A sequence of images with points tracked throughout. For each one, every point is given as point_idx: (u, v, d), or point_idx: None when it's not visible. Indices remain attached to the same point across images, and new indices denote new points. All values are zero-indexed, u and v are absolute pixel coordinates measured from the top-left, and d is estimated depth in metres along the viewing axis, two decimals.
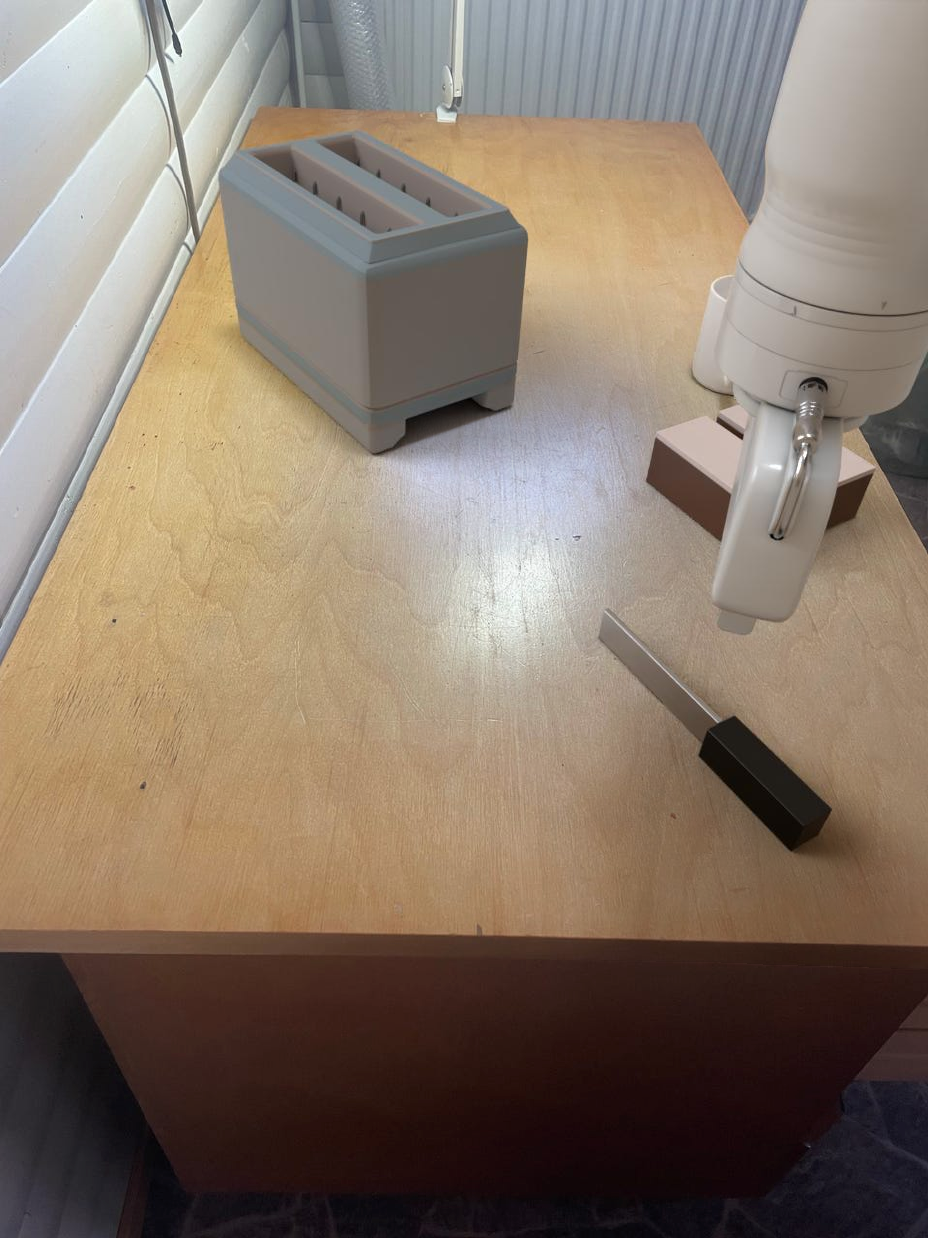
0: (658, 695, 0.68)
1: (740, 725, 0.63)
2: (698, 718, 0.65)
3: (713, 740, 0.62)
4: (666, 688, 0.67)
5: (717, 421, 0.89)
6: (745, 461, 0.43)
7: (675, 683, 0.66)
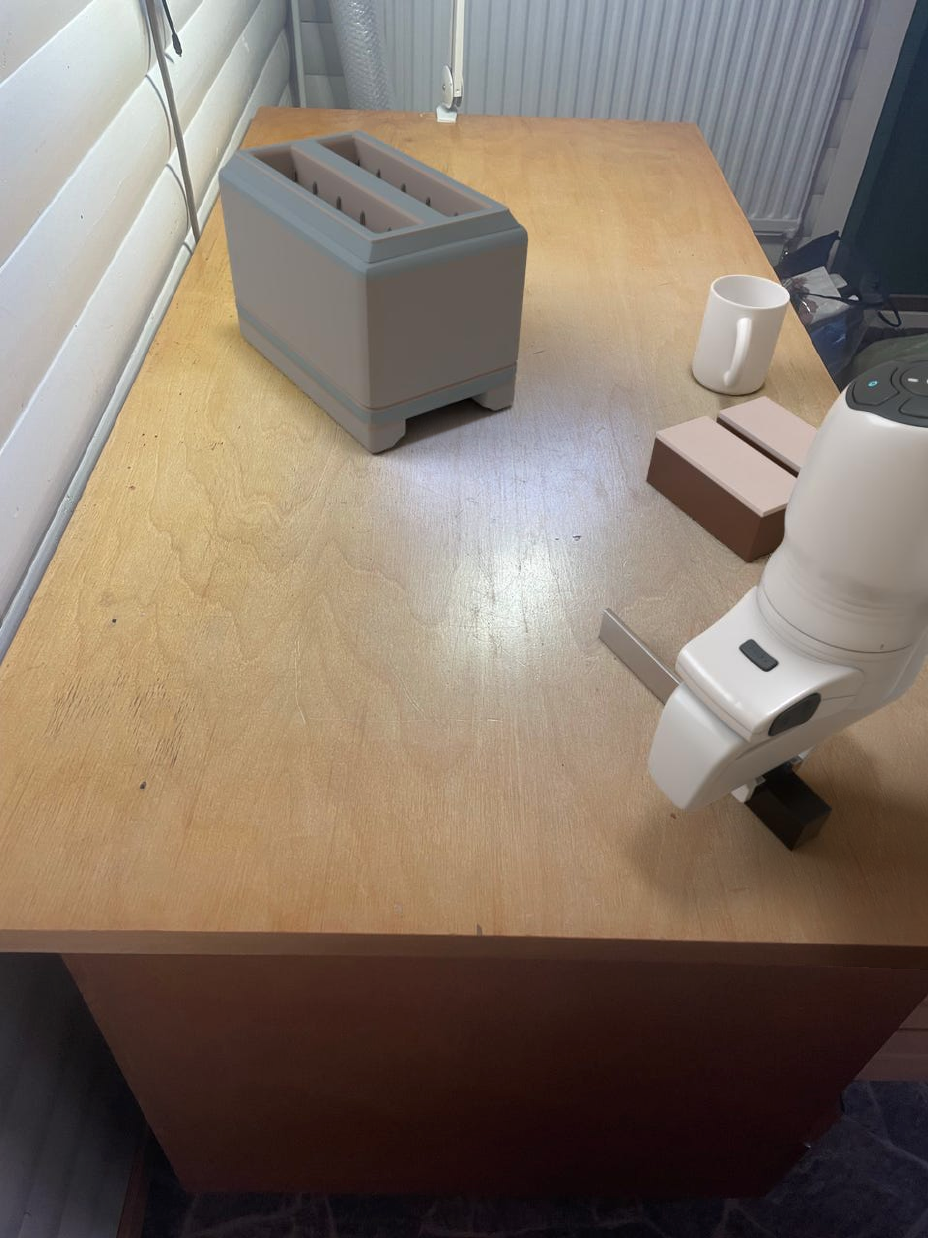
0: (658, 695, 0.68)
1: None
2: None
3: None
4: (666, 688, 0.67)
5: (717, 421, 0.89)
6: None
7: (676, 683, 0.66)
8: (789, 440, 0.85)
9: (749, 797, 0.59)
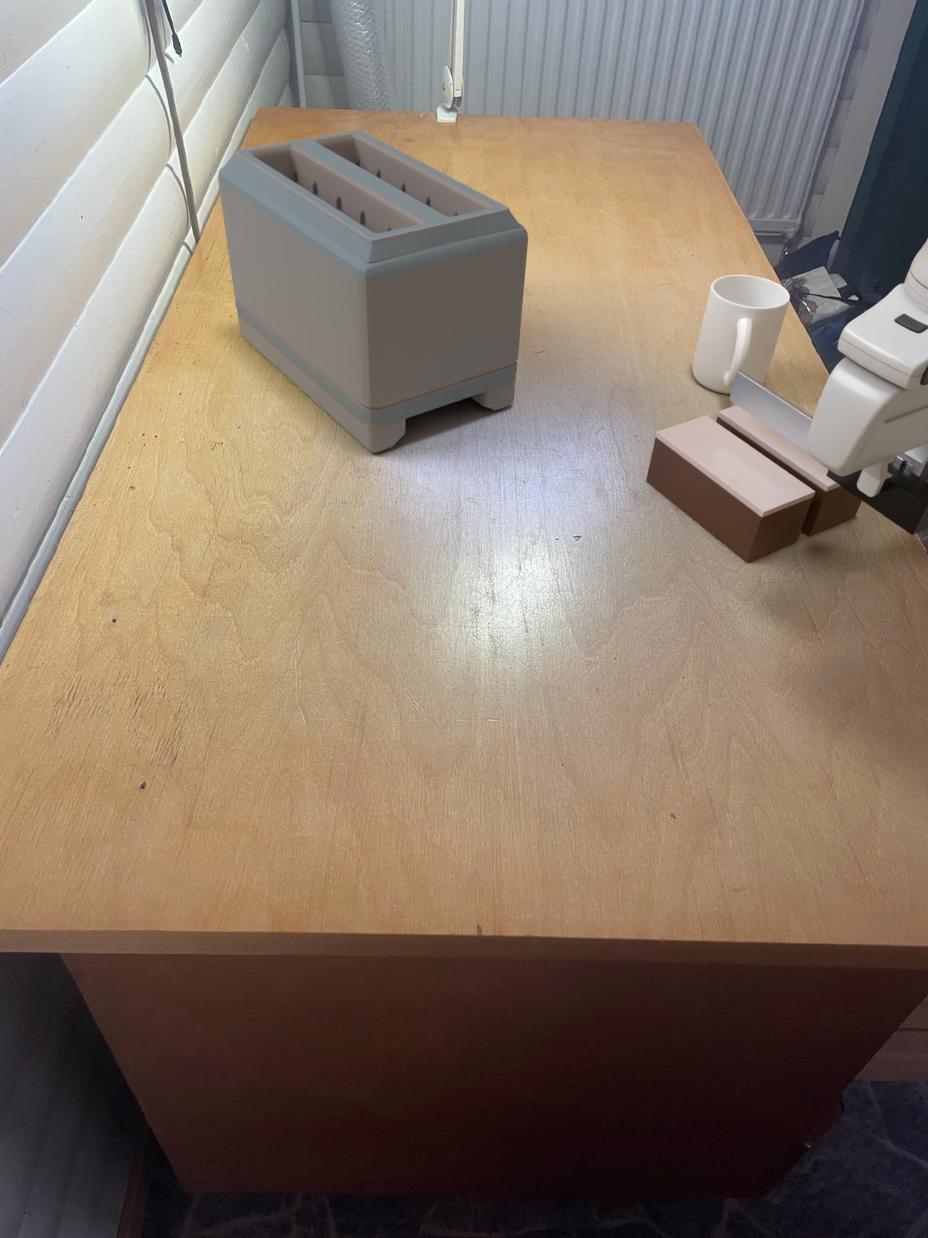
0: (787, 436, 0.80)
1: None
2: None
3: None
4: (796, 426, 0.79)
5: (717, 421, 0.89)
6: None
7: (806, 418, 0.78)
8: None
9: (878, 491, 0.71)
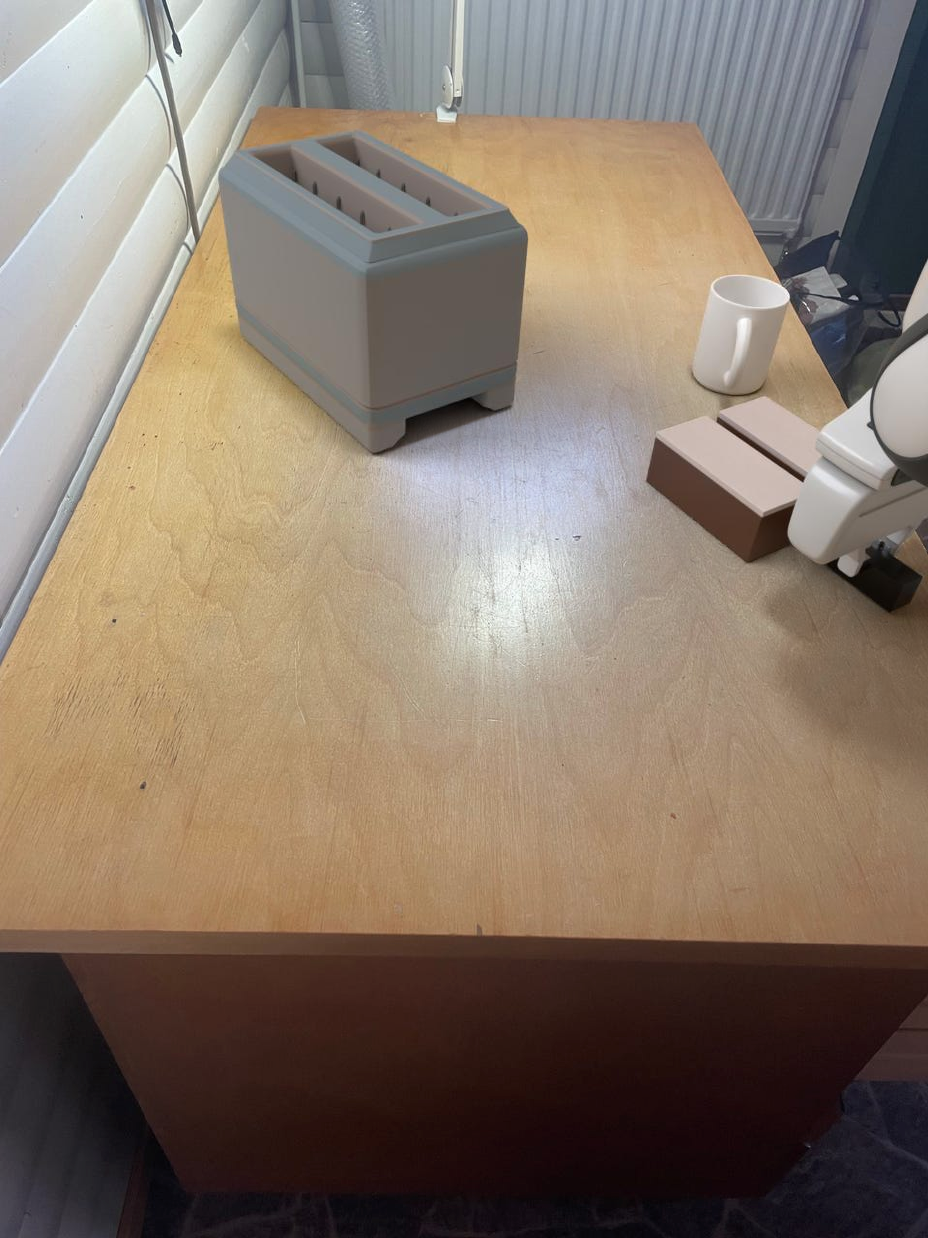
0: None
1: None
2: None
3: None
4: None
5: (717, 421, 0.89)
6: None
7: None
8: (789, 440, 0.85)
9: (857, 571, 0.76)
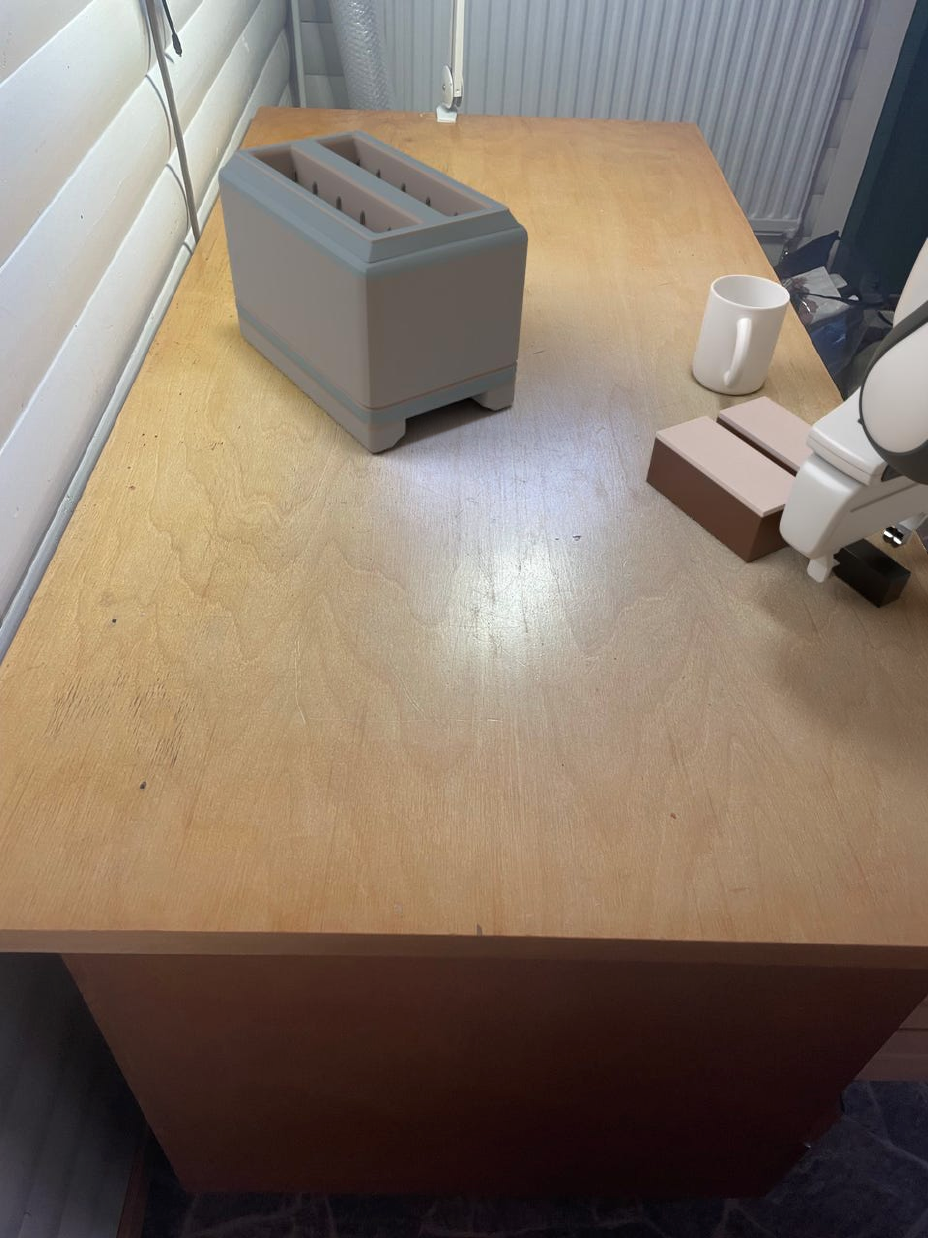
0: None
1: None
2: None
3: None
4: None
5: (717, 421, 0.89)
6: None
7: None
8: (789, 440, 0.85)
9: (826, 577, 0.75)
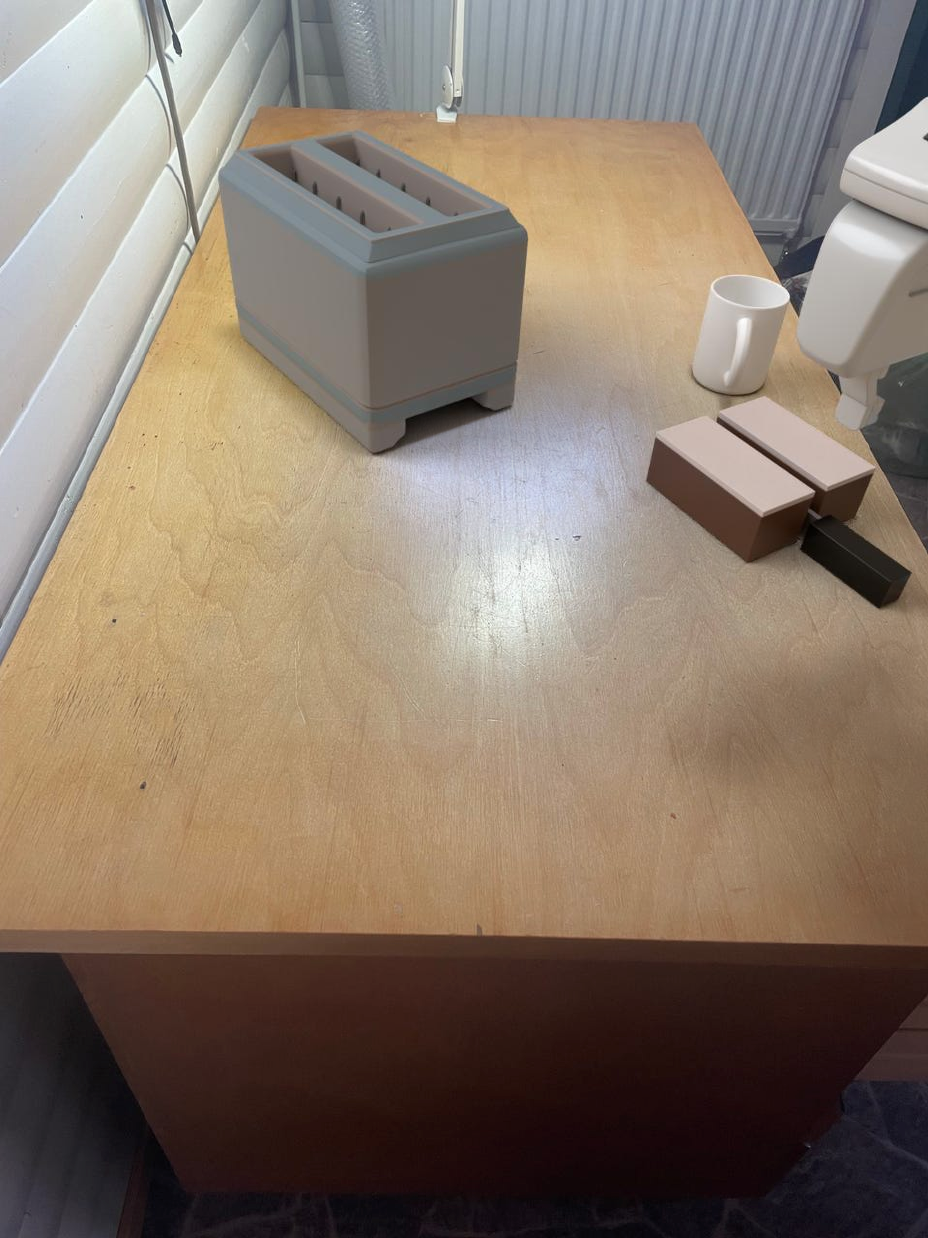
0: None
1: (835, 520, 0.80)
2: None
3: (815, 530, 0.80)
4: None
5: (717, 421, 0.89)
6: None
7: None
8: (789, 440, 0.85)
9: (865, 422, 0.51)
